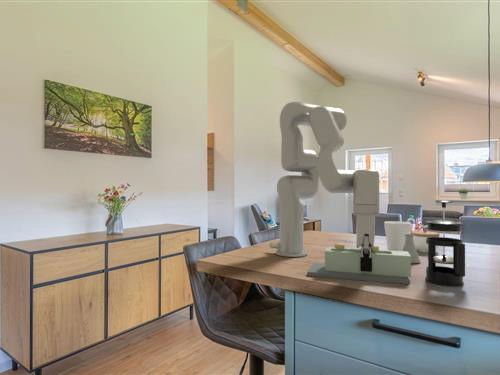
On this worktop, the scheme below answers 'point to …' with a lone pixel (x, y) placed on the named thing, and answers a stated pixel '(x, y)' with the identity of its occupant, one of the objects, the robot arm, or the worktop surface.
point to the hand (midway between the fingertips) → (366, 267)
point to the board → (319, 271)
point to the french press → (440, 273)
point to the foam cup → (396, 234)
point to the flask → (411, 248)
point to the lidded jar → (423, 239)
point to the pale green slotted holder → (381, 262)
